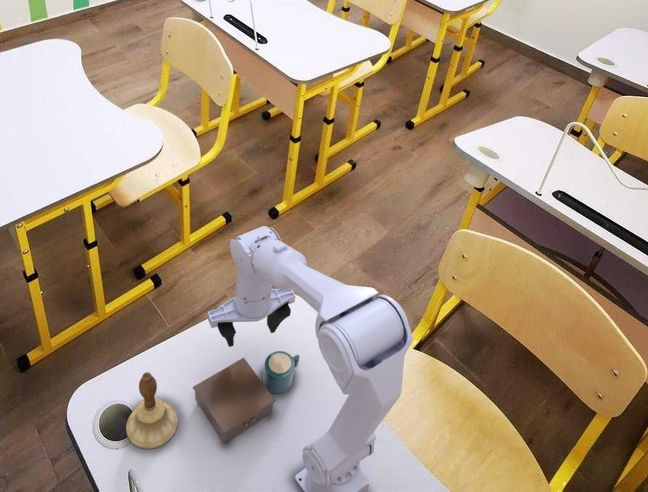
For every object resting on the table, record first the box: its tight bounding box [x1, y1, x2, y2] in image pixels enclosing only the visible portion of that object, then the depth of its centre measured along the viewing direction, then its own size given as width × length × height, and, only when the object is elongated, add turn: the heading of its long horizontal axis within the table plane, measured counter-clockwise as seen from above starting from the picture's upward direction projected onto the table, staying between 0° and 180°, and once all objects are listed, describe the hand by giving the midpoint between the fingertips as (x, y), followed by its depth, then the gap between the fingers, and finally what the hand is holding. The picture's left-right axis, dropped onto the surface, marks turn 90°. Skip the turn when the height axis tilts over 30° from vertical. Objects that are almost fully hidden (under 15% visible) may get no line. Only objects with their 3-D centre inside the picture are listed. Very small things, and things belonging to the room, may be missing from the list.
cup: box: [262, 350, 300, 394], centre depth 106 cm, size 5×7×6 cm
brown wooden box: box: [192, 357, 276, 444], centre depth 100 cm, size 10×10×5 cm
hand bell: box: [125, 371, 179, 450], centre depth 92 cm, size 8×8×16 cm
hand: (250, 335), depth 102 cm, fingers open, 7 cm apart
